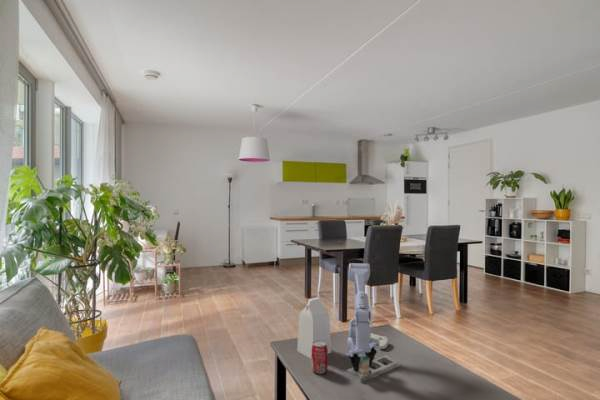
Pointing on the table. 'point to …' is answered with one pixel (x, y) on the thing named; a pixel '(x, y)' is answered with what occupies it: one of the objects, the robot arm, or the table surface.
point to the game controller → (379, 340)
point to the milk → (313, 327)
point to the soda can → (319, 357)
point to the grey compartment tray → (374, 373)
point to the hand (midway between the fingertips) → (362, 368)
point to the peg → (363, 364)
